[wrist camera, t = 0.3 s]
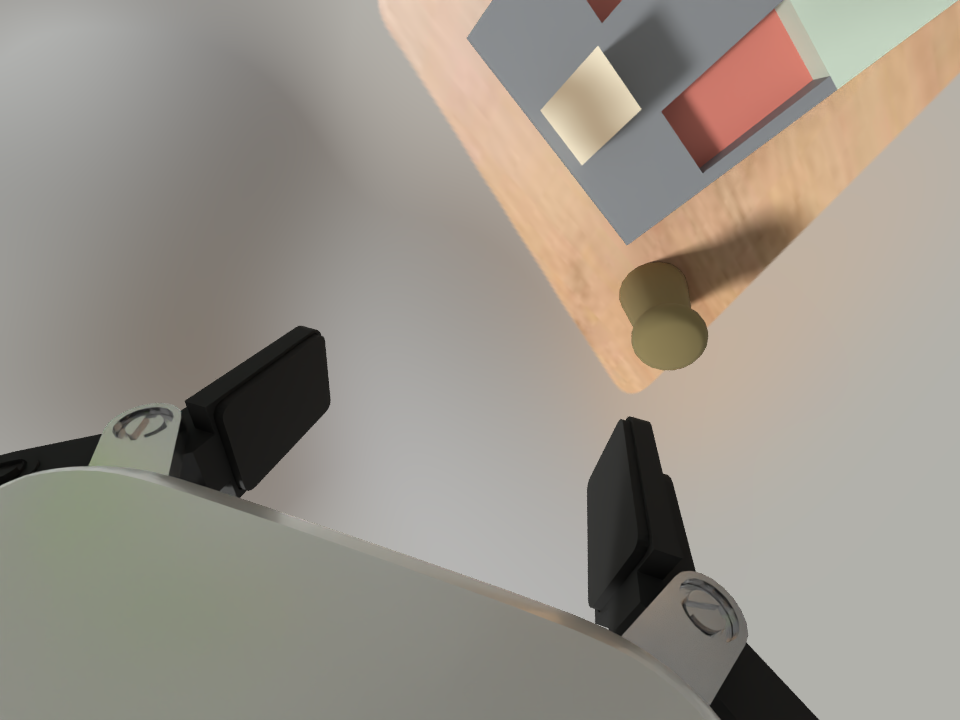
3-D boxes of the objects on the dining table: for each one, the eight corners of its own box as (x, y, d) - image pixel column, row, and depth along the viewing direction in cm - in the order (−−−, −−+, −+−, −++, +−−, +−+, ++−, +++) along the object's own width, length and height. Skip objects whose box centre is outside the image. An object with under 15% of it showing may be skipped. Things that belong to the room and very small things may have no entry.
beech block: (597, 57, 25) (597, 45, 22) (635, 111, 26) (641, 109, 23) (547, 112, 28) (540, 110, 24) (583, 160, 29) (582, 165, 25)
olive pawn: (702, 289, 34) (741, 347, 25) (649, 331, 37) (667, 396, 28) (654, 248, 33) (677, 293, 24) (605, 295, 37) (609, 350, 28)
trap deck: (793, -411, 17) (820, -484, 15) (957, -13, 21) (995, -28, 19) (475, 44, 29) (466, 38, 27) (625, 238, 33) (626, 245, 31)
